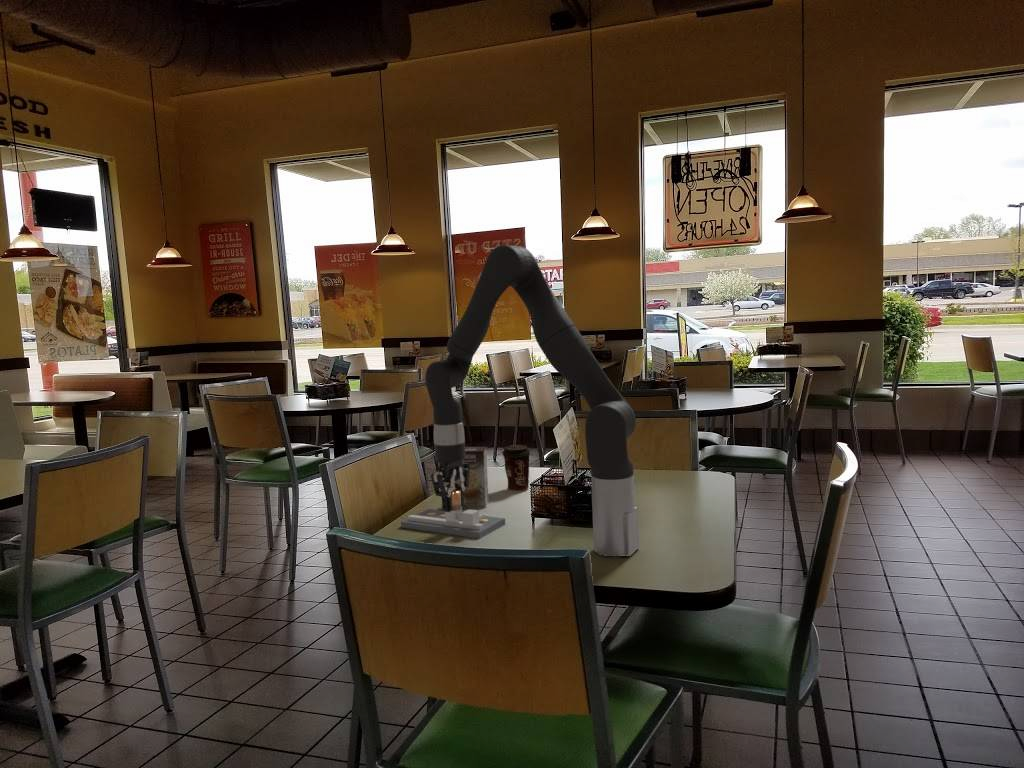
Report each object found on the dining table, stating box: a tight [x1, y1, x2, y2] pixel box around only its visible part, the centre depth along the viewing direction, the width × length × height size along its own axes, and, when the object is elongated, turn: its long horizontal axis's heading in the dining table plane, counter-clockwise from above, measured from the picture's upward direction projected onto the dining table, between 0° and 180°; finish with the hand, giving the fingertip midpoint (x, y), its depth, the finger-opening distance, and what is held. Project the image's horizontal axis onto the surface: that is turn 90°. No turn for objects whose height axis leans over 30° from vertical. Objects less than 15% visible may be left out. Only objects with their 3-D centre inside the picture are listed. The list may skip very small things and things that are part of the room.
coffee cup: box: [502, 444, 531, 493], centre depth 217 cm, size 9×8×13 cm
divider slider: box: [445, 488, 468, 523], centre depth 182 cm, size 4×8×8 cm, turn 150°
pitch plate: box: [400, 508, 506, 539], centre depth 185 cm, size 24×12×6 cm, turn 60°
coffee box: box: [462, 446, 490, 509], centre depth 203 cm, size 9×6×16 cm
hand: (453, 508), depth 180 cm, fingers open, 4 cm apart
